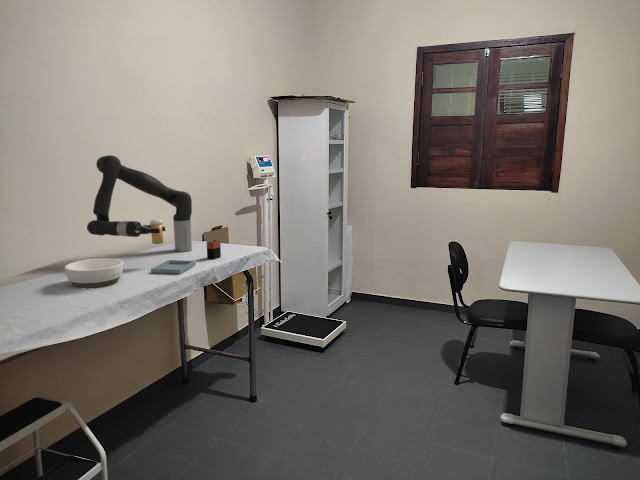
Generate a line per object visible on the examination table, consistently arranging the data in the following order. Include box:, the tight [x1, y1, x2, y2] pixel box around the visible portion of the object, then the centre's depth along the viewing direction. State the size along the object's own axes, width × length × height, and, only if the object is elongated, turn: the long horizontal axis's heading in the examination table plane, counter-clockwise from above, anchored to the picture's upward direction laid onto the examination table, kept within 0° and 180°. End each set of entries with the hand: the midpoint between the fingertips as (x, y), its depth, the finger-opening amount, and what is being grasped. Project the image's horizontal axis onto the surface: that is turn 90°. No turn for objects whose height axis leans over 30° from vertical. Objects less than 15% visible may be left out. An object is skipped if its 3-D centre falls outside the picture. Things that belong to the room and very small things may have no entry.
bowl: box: [64, 258, 124, 290], centre depth 202 cm, size 22×22×8 cm
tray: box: [150, 259, 197, 275], centre depth 226 cm, size 18×14×2 cm
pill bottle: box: [150, 219, 164, 245], centre depth 230 cm, size 5×5×11 cm
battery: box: [206, 237, 222, 260], centre depth 250 cm, size 4×7×10 cm, turn 158°
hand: (162, 229), depth 229 cm, fingers closed on pill bottle, 5 cm apart
